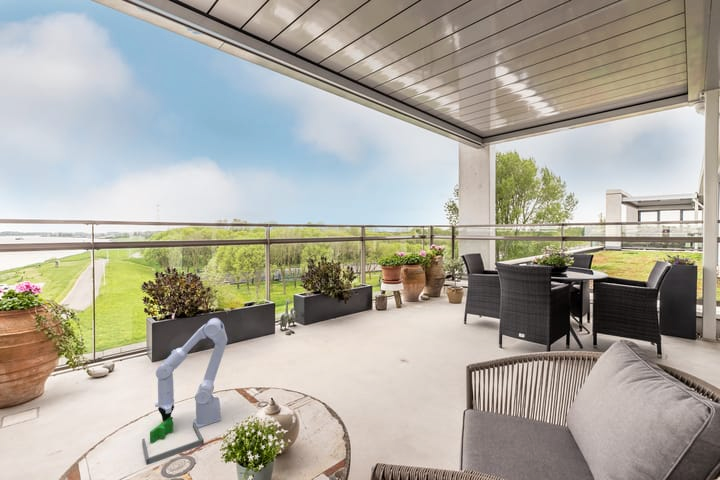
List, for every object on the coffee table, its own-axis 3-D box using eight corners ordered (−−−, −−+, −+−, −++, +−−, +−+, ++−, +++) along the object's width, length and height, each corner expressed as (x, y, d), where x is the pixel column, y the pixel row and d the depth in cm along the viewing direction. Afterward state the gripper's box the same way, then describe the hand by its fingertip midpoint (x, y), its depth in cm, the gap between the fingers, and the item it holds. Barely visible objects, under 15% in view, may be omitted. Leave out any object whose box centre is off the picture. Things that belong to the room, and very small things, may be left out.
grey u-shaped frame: (194, 426, 144) (194, 422, 144) (203, 444, 131) (203, 439, 131) (142, 443, 132) (142, 439, 132) (146, 464, 120) (146, 459, 120)
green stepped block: (158, 444, 132) (158, 432, 132) (149, 443, 133) (149, 431, 132) (178, 427, 143) (178, 417, 143) (170, 427, 144) (170, 416, 144)
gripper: (152, 388, 147) (153, 419, 147) (157, 400, 135) (157, 434, 135) (171, 383, 151) (171, 414, 151) (176, 395, 140) (177, 428, 140)
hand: (166, 423), depth 144 cm, fingers closed
